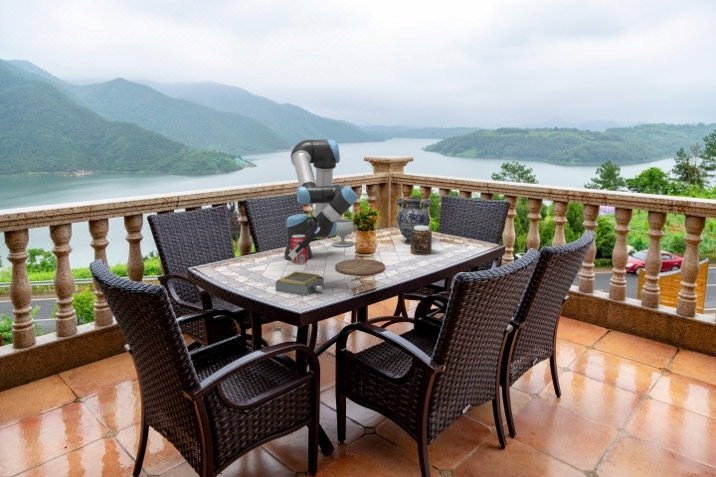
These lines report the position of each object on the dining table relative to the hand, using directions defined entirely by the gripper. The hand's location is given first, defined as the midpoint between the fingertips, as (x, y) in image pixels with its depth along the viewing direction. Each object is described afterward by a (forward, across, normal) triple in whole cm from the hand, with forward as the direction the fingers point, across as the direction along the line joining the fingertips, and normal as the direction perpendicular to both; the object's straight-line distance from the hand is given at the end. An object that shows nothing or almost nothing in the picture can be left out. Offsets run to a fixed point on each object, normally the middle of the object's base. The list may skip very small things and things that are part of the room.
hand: (291, 254), depth 204 cm
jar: (-38, +57, -60) cm, 91 cm away
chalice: (-8, +80, -30) cm, 86 cm away
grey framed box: (+7, -1, -14) cm, 16 cm away
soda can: (0, 0, -5) cm, 5 cm away
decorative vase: (-39, +82, -60) cm, 109 cm away
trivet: (-12, +29, -34) cm, 46 cm away
